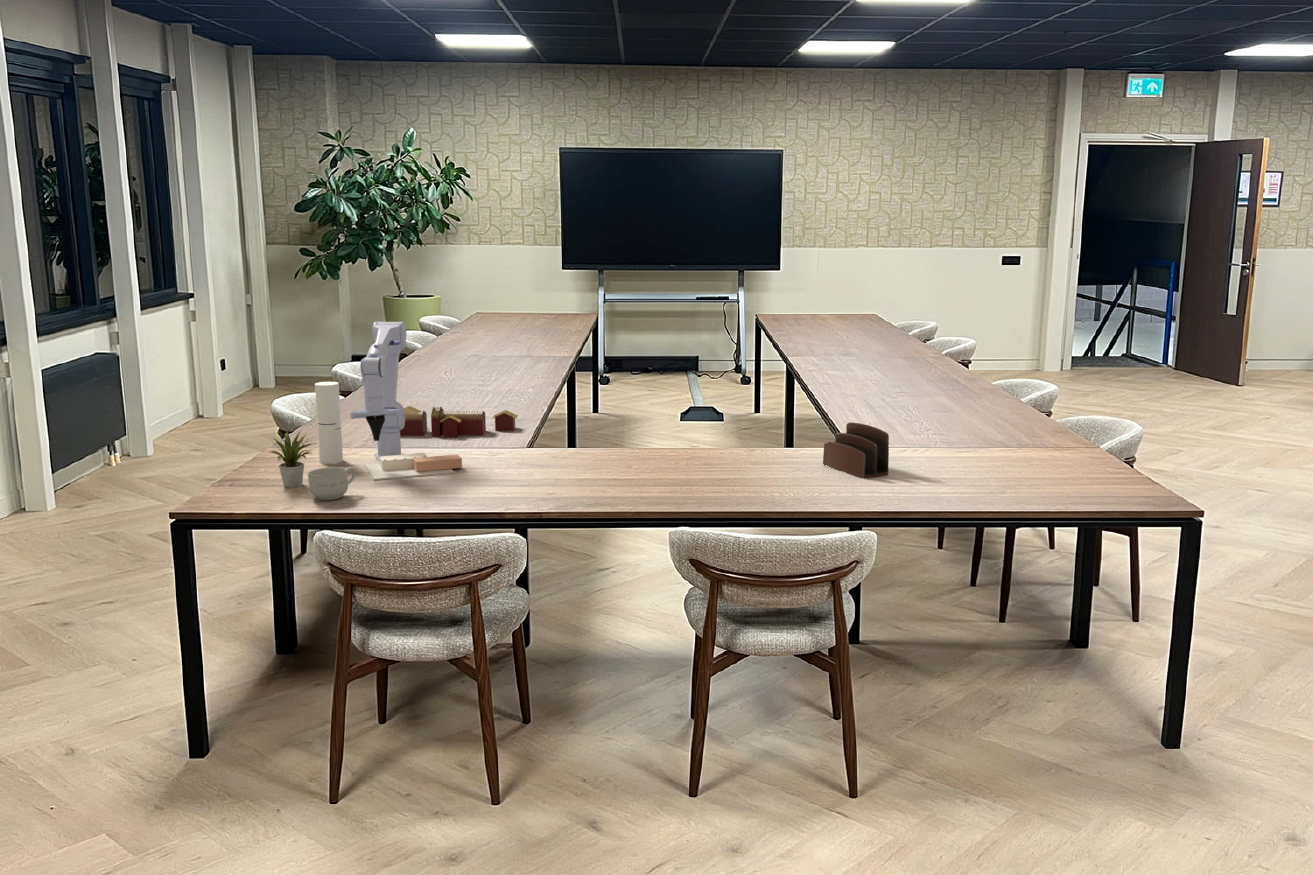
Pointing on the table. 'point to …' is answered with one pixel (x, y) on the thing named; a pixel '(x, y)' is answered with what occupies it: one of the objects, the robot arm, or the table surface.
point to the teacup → (329, 482)
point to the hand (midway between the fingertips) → (376, 440)
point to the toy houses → (453, 423)
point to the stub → (437, 463)
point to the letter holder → (859, 451)
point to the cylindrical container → (328, 422)
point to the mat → (401, 472)
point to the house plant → (292, 460)
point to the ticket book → (398, 461)
